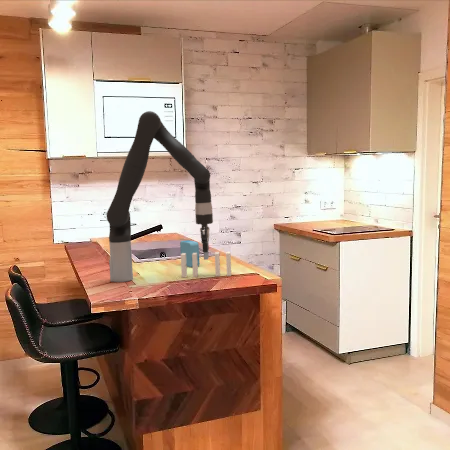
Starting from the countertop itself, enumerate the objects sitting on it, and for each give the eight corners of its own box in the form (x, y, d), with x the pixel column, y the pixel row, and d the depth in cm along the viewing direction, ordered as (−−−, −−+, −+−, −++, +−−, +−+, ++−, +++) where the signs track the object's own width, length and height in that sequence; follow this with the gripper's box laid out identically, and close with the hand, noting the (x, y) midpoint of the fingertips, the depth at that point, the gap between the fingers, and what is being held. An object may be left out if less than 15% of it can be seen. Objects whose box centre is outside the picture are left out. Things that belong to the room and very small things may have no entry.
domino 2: (192, 277, 223) (191, 254, 222) (194, 274, 228) (193, 252, 227) (197, 276, 223) (196, 254, 222) (198, 274, 228) (197, 252, 227)
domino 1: (181, 277, 223) (180, 255, 222) (183, 275, 228) (181, 253, 227) (185, 277, 223) (184, 254, 222) (187, 274, 228) (186, 253, 227)
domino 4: (215, 276, 222) (214, 253, 221) (216, 274, 227) (215, 252, 226) (219, 276, 222) (218, 253, 221) (220, 273, 227) (219, 251, 226)
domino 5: (226, 275, 222) (225, 253, 221) (227, 273, 227) (226, 251, 226) (231, 275, 222) (230, 253, 221) (231, 273, 227) (230, 251, 226)
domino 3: (203, 259, 222) (202, 237, 221) (204, 257, 227) (203, 235, 226) (208, 259, 222) (207, 236, 221) (208, 257, 227) (207, 235, 226)
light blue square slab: (199, 266, 247) (198, 242, 246) (191, 267, 245) (190, 243, 244) (189, 263, 258) (187, 239, 256) (181, 264, 255) (179, 240, 254)
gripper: (196, 212, 229) (198, 249, 231) (193, 214, 215) (196, 254, 217) (213, 211, 229) (215, 248, 231) (211, 214, 215) (213, 253, 217)
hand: (205, 250), depth 224 cm, fingers closed on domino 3, 5 cm apart
